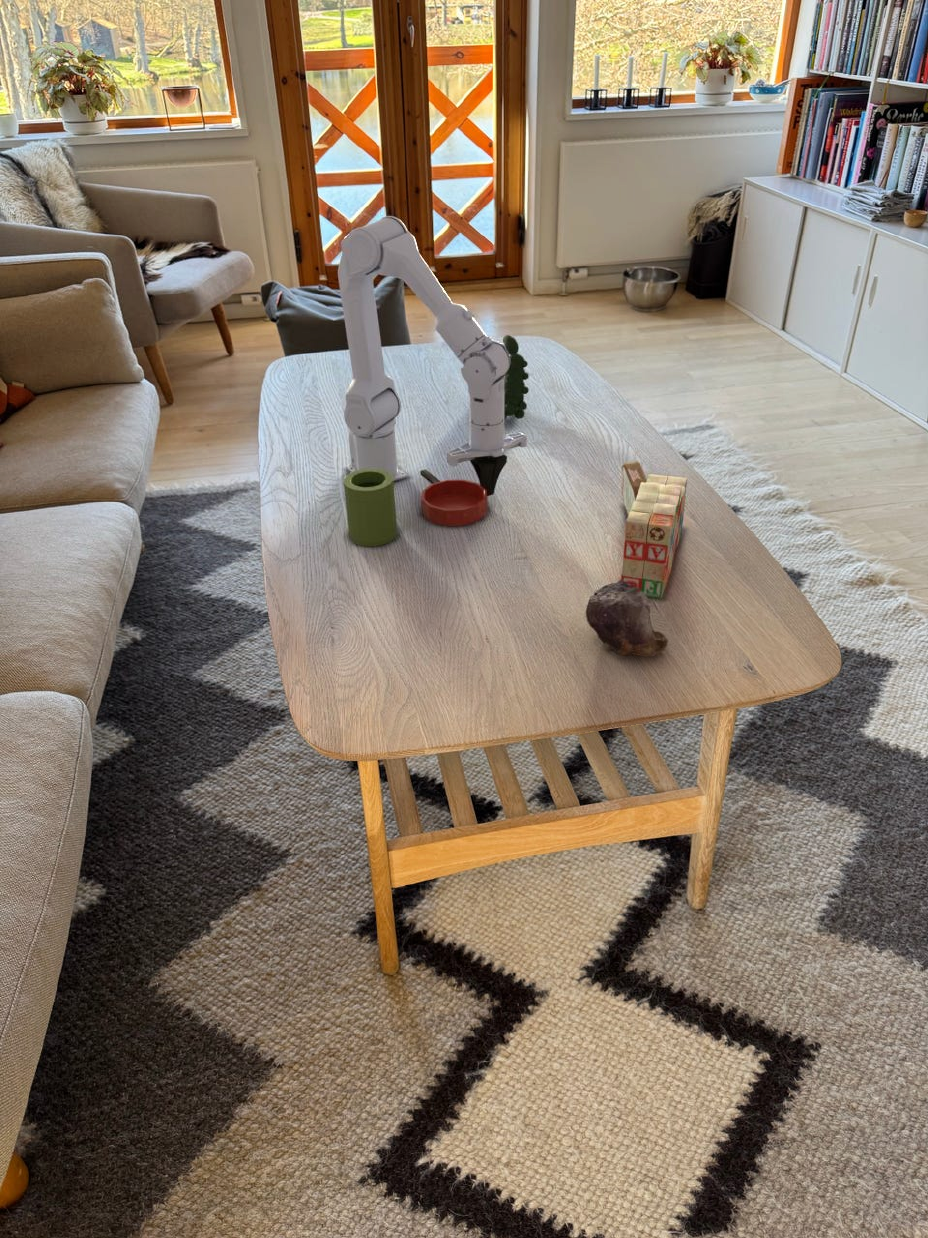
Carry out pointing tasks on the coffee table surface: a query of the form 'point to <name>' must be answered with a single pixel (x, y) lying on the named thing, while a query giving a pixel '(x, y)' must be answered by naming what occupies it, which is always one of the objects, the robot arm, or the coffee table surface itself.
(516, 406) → the toy figurine
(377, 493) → the crock
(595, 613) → the rock
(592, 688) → the coffee table surface
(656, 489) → the stack of blocks
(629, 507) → the tin
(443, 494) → the pan
